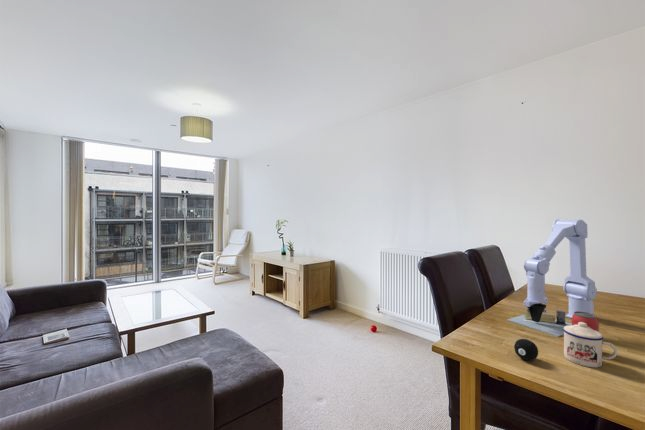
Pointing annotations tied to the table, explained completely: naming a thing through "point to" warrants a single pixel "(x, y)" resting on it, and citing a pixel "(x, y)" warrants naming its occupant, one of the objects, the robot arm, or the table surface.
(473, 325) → the table surface
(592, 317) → the beer can
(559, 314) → the door knob
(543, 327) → the door panel
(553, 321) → the swing bar
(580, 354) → the teacup with lid
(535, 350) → the billiard ball
